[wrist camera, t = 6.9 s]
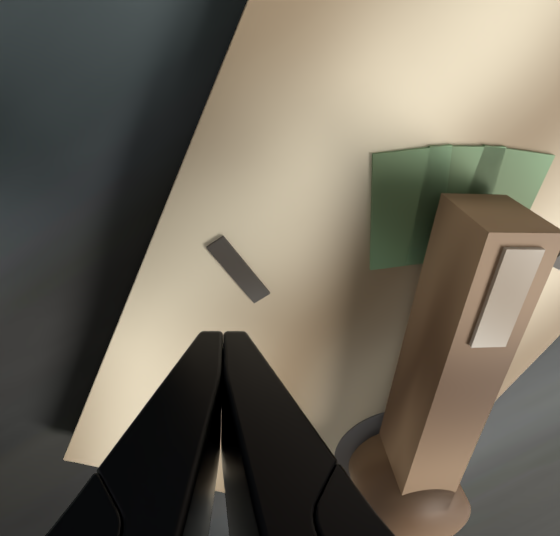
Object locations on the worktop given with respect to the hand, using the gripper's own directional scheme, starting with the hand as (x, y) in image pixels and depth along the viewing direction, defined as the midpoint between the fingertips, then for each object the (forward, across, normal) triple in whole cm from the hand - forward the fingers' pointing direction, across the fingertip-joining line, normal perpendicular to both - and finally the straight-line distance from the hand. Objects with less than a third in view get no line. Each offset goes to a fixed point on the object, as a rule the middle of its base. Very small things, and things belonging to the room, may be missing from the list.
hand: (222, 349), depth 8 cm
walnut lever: (+3, -6, +3) cm, 7 cm away
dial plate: (+4, -4, +1) cm, 6 cm away
